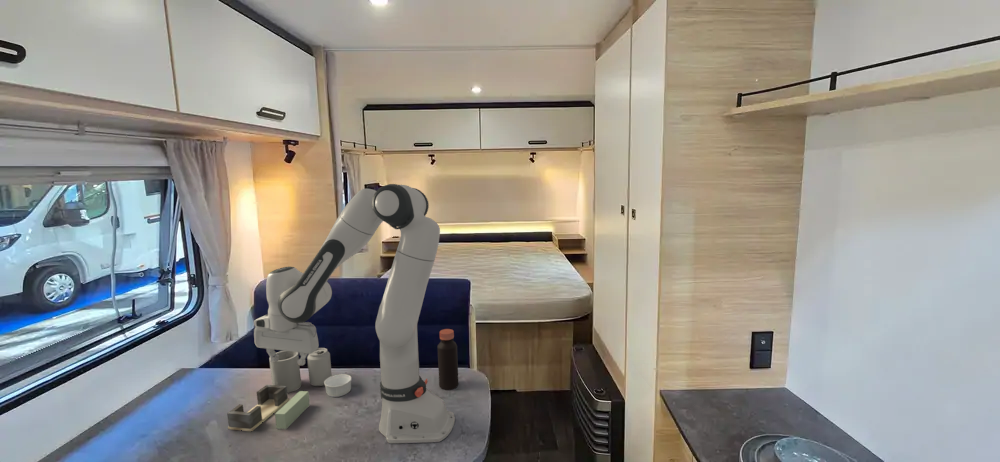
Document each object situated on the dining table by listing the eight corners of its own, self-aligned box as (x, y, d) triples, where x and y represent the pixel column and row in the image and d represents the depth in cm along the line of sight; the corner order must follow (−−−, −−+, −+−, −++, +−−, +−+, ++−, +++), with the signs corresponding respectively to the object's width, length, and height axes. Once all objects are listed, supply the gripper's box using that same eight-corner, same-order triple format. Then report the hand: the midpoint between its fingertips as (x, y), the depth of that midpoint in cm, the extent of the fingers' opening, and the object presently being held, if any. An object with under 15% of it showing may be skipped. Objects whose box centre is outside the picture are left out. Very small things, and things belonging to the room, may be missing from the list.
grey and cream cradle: (289, 400, 144) (287, 386, 144) (251, 431, 128) (249, 415, 127) (267, 398, 146) (266, 384, 145) (228, 429, 129) (226, 413, 129)
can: (324, 388, 152) (321, 356, 150) (305, 386, 154) (302, 354, 152) (336, 377, 159) (333, 347, 157) (318, 376, 161) (315, 345, 159)
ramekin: (349, 382, 156) (348, 371, 155) (355, 393, 148) (354, 381, 148) (323, 389, 151) (322, 378, 151) (327, 401, 144) (326, 389, 143)
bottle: (454, 391, 148) (451, 336, 145) (436, 389, 150) (433, 334, 147) (461, 381, 154) (459, 328, 151) (443, 379, 156) (441, 327, 153)
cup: (267, 389, 152) (264, 357, 150) (292, 378, 160) (289, 347, 158) (281, 396, 147) (278, 363, 145) (306, 385, 154) (303, 353, 153)
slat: (309, 405, 142) (308, 391, 141) (286, 429, 129) (284, 414, 128) (301, 405, 142) (299, 391, 141) (276, 429, 129) (274, 413, 128)
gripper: (321, 319, 131) (324, 362, 134) (264, 313, 136) (267, 355, 138) (308, 326, 125) (311, 371, 127) (248, 320, 130) (252, 363, 132)
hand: (288, 363), depth 133 cm, fingers open, 8 cm apart
